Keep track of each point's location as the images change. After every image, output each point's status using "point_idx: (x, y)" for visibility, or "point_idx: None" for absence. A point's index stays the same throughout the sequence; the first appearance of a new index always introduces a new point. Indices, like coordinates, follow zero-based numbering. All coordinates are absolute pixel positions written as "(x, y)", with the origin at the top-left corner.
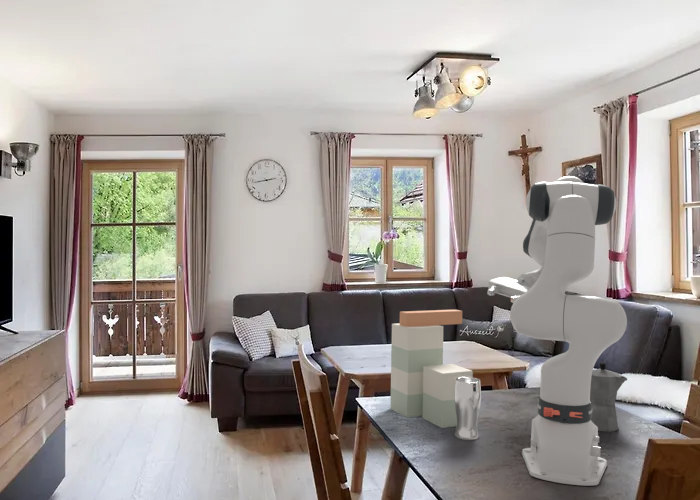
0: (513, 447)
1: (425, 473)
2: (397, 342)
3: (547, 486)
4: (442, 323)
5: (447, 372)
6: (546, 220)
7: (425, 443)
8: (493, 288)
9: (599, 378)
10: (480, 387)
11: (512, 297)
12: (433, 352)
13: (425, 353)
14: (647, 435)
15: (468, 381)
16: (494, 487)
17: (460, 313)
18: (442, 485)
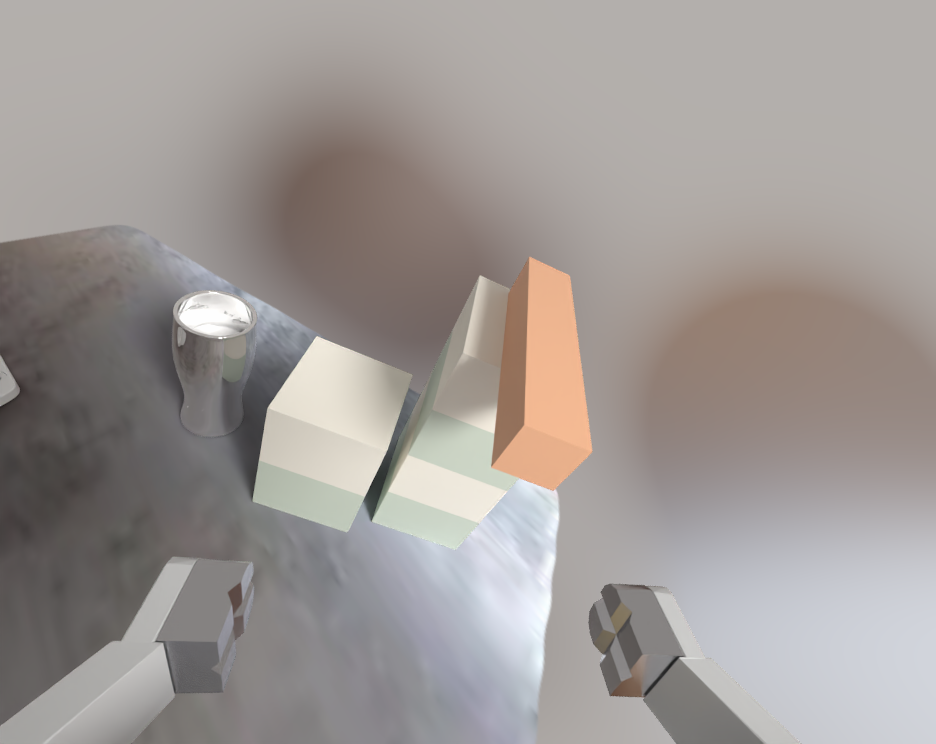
0: (59, 417)
1: (187, 260)
2: None
3: None
4: (502, 380)
5: (316, 351)
6: None
7: (264, 346)
8: (711, 700)
9: None
10: (174, 332)
11: (220, 564)
12: (434, 390)
13: (439, 371)
14: None
15: (230, 345)
16: (44, 253)
17: (517, 423)
18: (139, 240)
